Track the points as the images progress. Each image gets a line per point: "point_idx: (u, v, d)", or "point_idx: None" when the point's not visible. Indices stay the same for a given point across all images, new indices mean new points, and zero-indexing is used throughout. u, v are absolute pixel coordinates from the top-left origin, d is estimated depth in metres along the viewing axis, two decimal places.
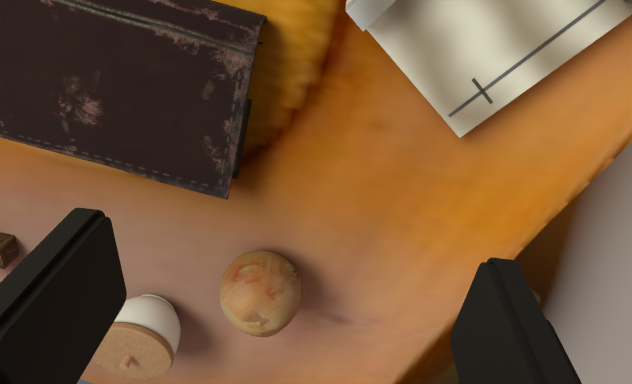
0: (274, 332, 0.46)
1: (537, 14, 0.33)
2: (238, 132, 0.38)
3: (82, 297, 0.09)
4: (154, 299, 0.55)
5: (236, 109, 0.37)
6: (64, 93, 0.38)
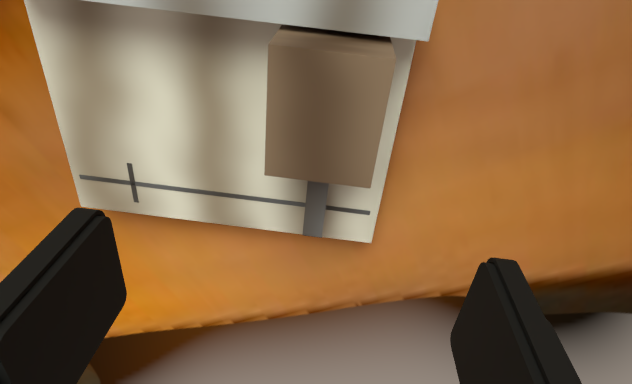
0: None
1: (232, 162, 0.25)
2: None
3: (82, 297, 0.09)
4: None
5: None
6: None
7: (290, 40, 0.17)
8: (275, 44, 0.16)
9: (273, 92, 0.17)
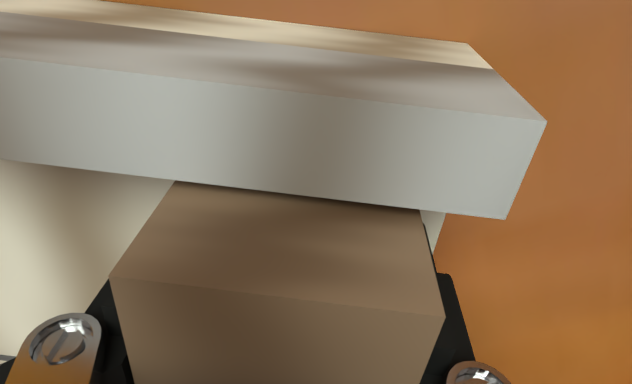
0: None
1: None
2: None
3: None
4: None
5: None
6: None
7: (180, 241, 0.07)
8: (129, 274, 0.06)
9: (144, 358, 0.07)
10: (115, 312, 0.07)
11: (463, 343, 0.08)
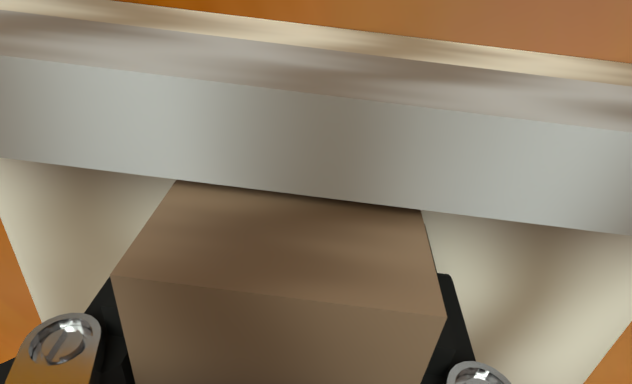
0: None
1: None
2: None
3: None
4: None
5: None
6: None
7: (182, 240, 0.07)
8: (130, 273, 0.06)
9: (144, 357, 0.07)
10: (114, 312, 0.07)
11: (463, 343, 0.08)
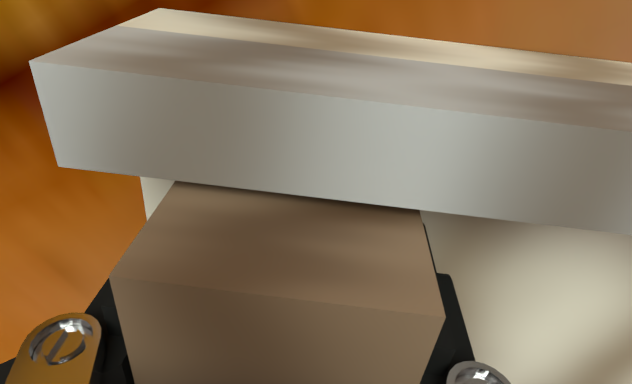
0: None
1: None
2: None
3: None
4: None
5: None
6: None
7: (181, 241, 0.07)
8: (129, 274, 0.06)
9: (144, 358, 0.07)
10: (115, 312, 0.07)
11: (462, 343, 0.08)
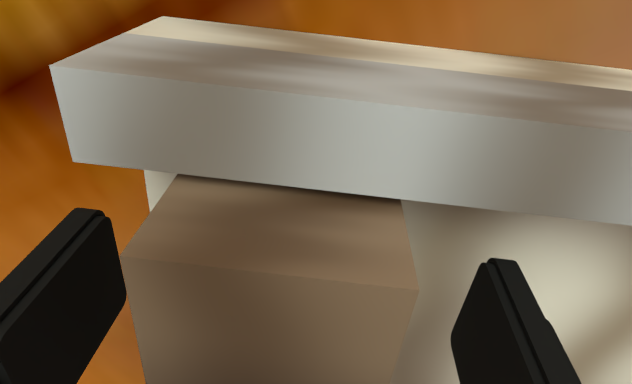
0: None
1: (437, 361, 0.16)
2: None
3: (82, 297, 0.09)
4: None
5: None
6: None
7: (183, 226, 0.08)
8: (138, 254, 0.07)
9: (150, 334, 0.08)
10: None
11: None
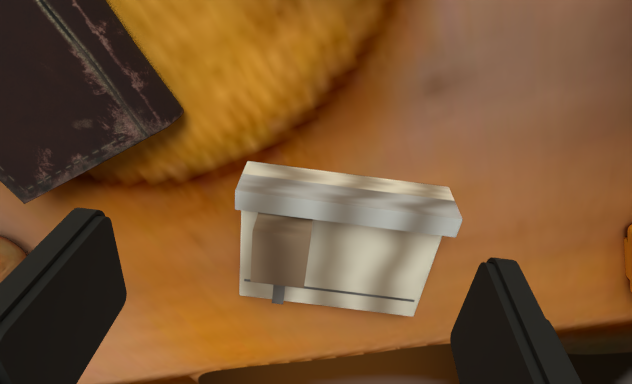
0: None
1: (337, 274, 0.44)
2: (83, 171, 0.37)
3: (82, 297, 0.09)
4: None
5: (97, 155, 0.36)
6: None
7: (263, 225, 0.36)
8: (255, 230, 0.35)
9: (254, 248, 0.36)
10: None
11: None
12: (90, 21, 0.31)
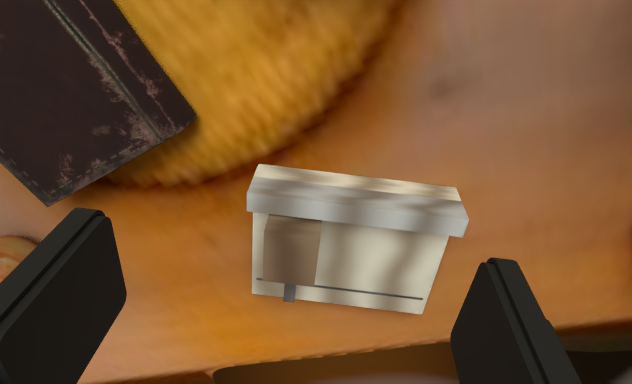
0: None
1: (347, 273, 0.45)
2: (102, 175, 0.38)
3: (82, 297, 0.09)
4: None
5: (115, 160, 0.38)
6: None
7: (274, 226, 0.37)
8: (267, 231, 0.36)
9: (266, 248, 0.37)
10: None
11: None
12: (106, 32, 0.32)
